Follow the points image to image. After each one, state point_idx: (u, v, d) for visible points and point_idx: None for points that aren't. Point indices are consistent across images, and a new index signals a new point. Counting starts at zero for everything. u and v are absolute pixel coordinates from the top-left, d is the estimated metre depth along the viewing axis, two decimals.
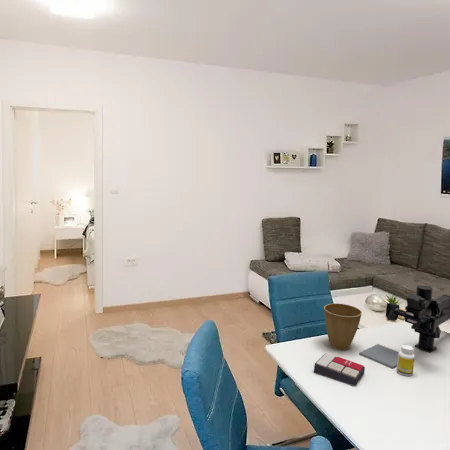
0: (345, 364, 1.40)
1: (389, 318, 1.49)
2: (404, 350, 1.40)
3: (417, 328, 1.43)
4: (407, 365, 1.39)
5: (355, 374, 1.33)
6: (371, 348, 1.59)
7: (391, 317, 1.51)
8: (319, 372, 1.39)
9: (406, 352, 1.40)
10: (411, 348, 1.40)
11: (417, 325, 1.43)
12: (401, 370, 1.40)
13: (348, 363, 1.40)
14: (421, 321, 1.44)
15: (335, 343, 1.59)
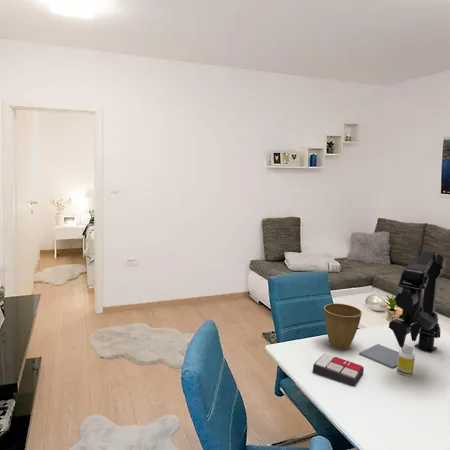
0: (344, 364, 1.39)
1: None
2: (404, 350, 1.40)
3: None
4: (407, 365, 1.39)
5: (354, 374, 1.33)
6: (371, 348, 1.59)
7: None
8: (318, 373, 1.38)
9: (406, 352, 1.40)
10: (411, 348, 1.40)
11: None
12: (401, 370, 1.40)
13: (347, 363, 1.40)
14: (420, 329, 1.43)
15: (335, 343, 1.59)
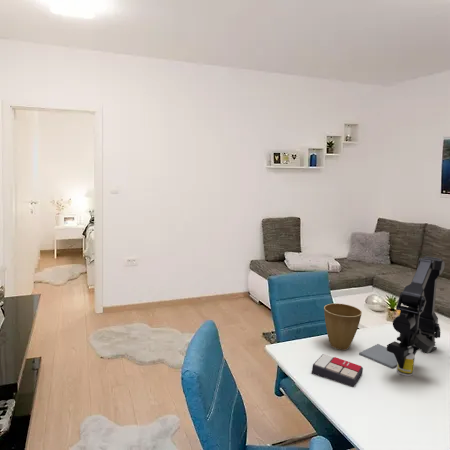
0: (343, 365, 1.39)
1: None
2: None
3: None
4: (407, 365, 1.39)
5: (353, 375, 1.33)
6: (371, 348, 1.59)
7: None
8: (317, 373, 1.38)
9: None
10: (411, 348, 1.40)
11: None
12: (401, 370, 1.40)
13: (346, 364, 1.40)
14: (415, 352, 1.43)
15: (335, 343, 1.59)
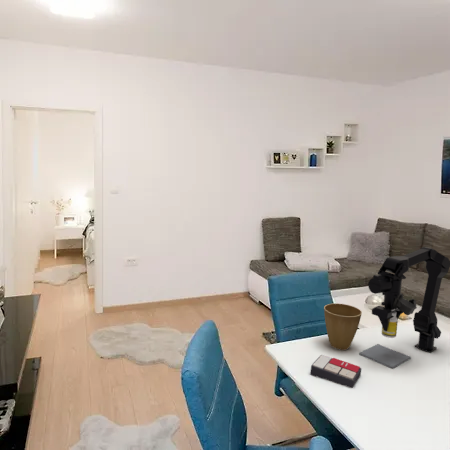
0: (342, 365, 1.39)
1: None
2: None
3: None
4: (390, 327, 1.49)
5: (352, 376, 1.32)
6: (371, 348, 1.59)
7: None
8: (316, 374, 1.37)
9: None
10: (394, 312, 1.50)
11: None
12: (385, 332, 1.50)
13: (345, 364, 1.39)
14: (398, 316, 1.53)
15: (335, 343, 1.59)
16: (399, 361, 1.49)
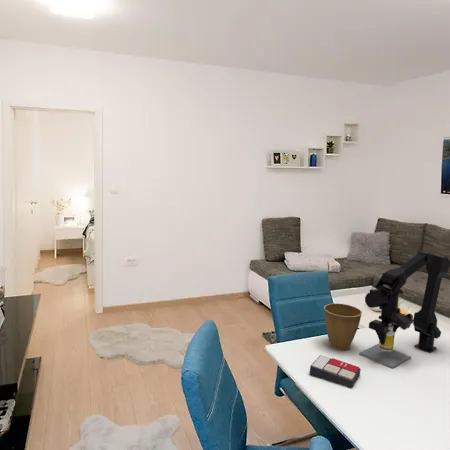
0: (341, 366, 1.38)
1: None
2: None
3: None
4: (387, 341, 1.51)
5: (351, 376, 1.32)
6: (371, 348, 1.59)
7: None
8: (315, 374, 1.37)
9: None
10: (391, 326, 1.52)
11: None
12: (382, 346, 1.52)
13: (344, 365, 1.39)
14: None
15: (335, 343, 1.59)
16: (399, 361, 1.49)
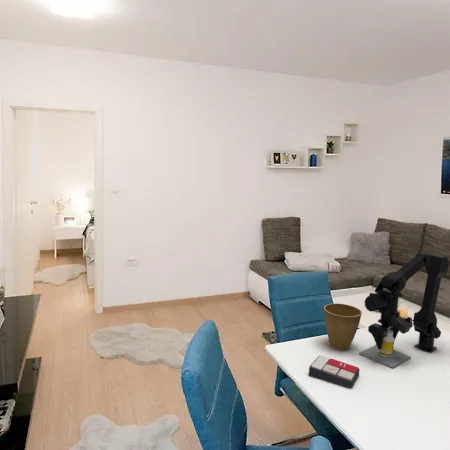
0: (340, 366, 1.38)
1: None
2: None
3: None
4: (387, 347, 1.51)
5: (351, 376, 1.32)
6: (371, 348, 1.59)
7: None
8: (314, 375, 1.36)
9: None
10: (391, 332, 1.52)
11: None
12: (382, 351, 1.53)
13: (343, 365, 1.39)
14: (397, 332, 1.56)
15: (335, 343, 1.59)
16: (399, 361, 1.49)
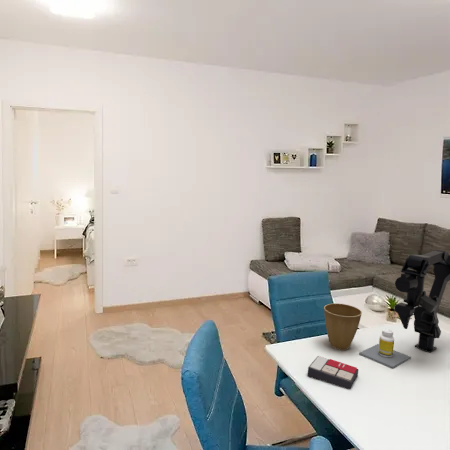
0: (339, 367, 1.37)
1: None
2: (384, 333, 1.52)
3: None
4: (387, 347, 1.51)
5: (350, 377, 1.31)
6: (371, 348, 1.59)
7: None
8: (313, 376, 1.36)
9: (386, 335, 1.52)
10: (391, 332, 1.52)
11: None
12: (382, 351, 1.53)
13: (342, 366, 1.38)
14: (423, 312, 1.55)
15: (335, 343, 1.59)
16: (399, 361, 1.49)
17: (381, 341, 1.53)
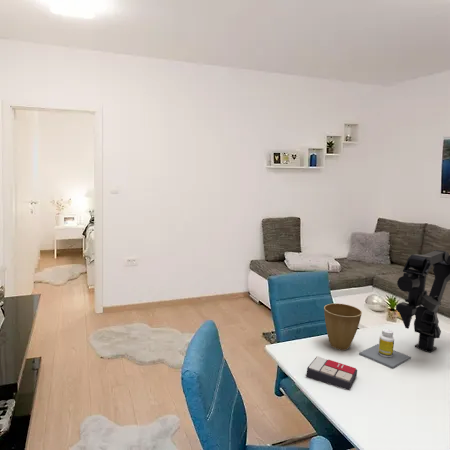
0: (338, 367, 1.37)
1: None
2: (384, 333, 1.52)
3: None
4: (387, 347, 1.51)
5: (349, 378, 1.31)
6: (371, 348, 1.59)
7: None
8: (312, 377, 1.35)
9: (386, 335, 1.52)
10: (391, 332, 1.52)
11: None
12: (382, 351, 1.53)
13: (340, 366, 1.38)
14: (424, 312, 1.55)
15: (335, 343, 1.59)
16: (399, 361, 1.49)
17: (381, 341, 1.53)
